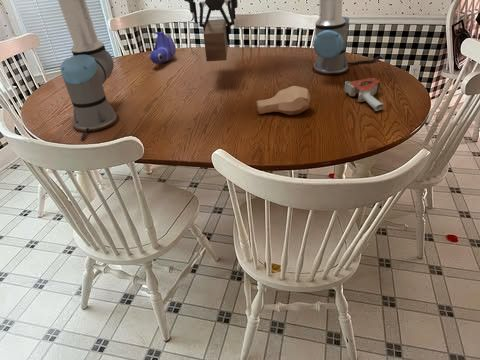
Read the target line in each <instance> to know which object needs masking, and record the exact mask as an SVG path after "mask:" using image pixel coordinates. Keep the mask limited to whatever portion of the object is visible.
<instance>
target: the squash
mask: <svg viewBox="0 0 480 360" xmlns="http://www.w3.org/2000/svg"><path fill="white" fill-rule="evenodd" d="M311 98H312V97H311V95H310V90H309V89H307V88H306V87H302V86H298V85H292V86H289V87H287V88H283V89H280V90H279V91H277V92H276V94H275V95H274V96H272V97H271V98H265V99H257V100H256V102H255V103H256V107H257V109H256V110H257V113H258V114H259V115H263V114H266V113H273V112H275V113H282V114H284V115H287V116H295V115H300V114H301V113H303V112H305V111H306V110H308V109H309V107H310V102H311Z"/></svg>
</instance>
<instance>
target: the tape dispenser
mask: <svg viewBox="0 0 480 360" xmlns="http://www.w3.org/2000/svg"><path fill="white" fill-rule="evenodd" d="M380 81H381V80H378V79H377V78H376V77H368V78H363V79H357V80H352V81H348V80H347V81H345V82H344V89H343V90H344V93H346V94H348V95H349V96H350V97H356V95H357V93H358V97H357V102H358V103H362V102H366V103H367V104H368V105H369V106H370V107H371V108H372V109H373V111H374V112H378V111H381V110H382V109H383V108H384V103H383V102H381V101H380V100H378V99H377V98H375V97H374V95H377V94H378V93H379V89H380V85H381V82H380ZM364 82H366V84H365V85H362V83H364Z"/></svg>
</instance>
